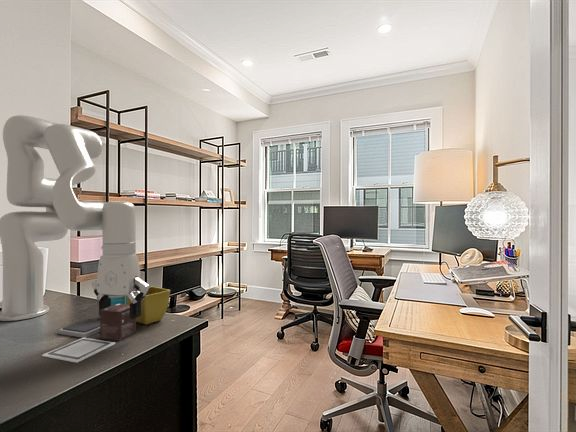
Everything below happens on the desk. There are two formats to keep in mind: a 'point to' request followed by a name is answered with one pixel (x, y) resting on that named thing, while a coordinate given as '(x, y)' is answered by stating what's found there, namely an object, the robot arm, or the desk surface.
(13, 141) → the robot arm
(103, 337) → the box
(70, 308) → the desk surface
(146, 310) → the flower pot
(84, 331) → the ink pad
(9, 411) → the desk surface
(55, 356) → the frame card
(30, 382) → the desk surface
